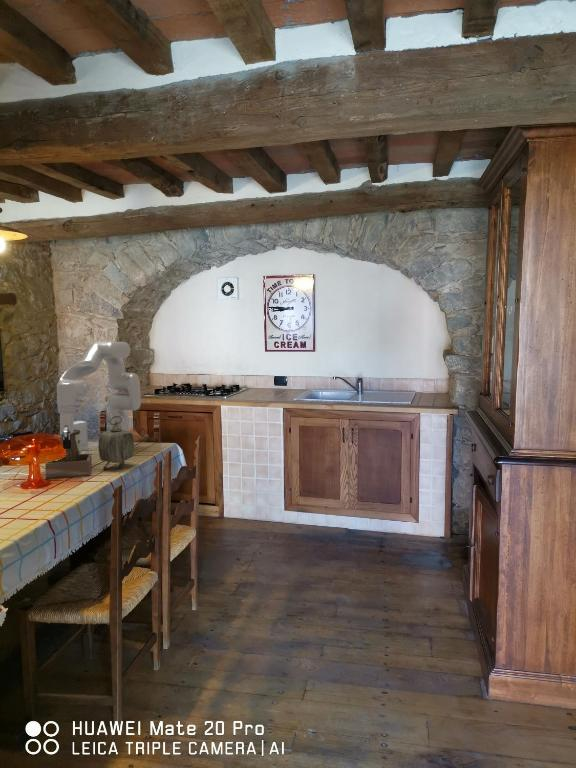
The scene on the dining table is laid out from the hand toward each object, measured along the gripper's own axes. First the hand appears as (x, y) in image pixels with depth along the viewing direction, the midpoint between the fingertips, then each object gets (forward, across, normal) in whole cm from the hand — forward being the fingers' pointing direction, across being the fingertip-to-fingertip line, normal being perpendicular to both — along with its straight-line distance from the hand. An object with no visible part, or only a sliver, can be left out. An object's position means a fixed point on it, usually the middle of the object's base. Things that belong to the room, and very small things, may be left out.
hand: (68, 446), depth 238 cm
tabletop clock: (+13, -4, +21) cm, 25 cm away
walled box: (+13, 0, 0) cm, 13 cm away
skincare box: (+13, -47, -1) cm, 49 cm away
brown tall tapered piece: (+12, 0, 0) cm, 12 cm away
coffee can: (+13, -29, -3) cm, 32 cm away
